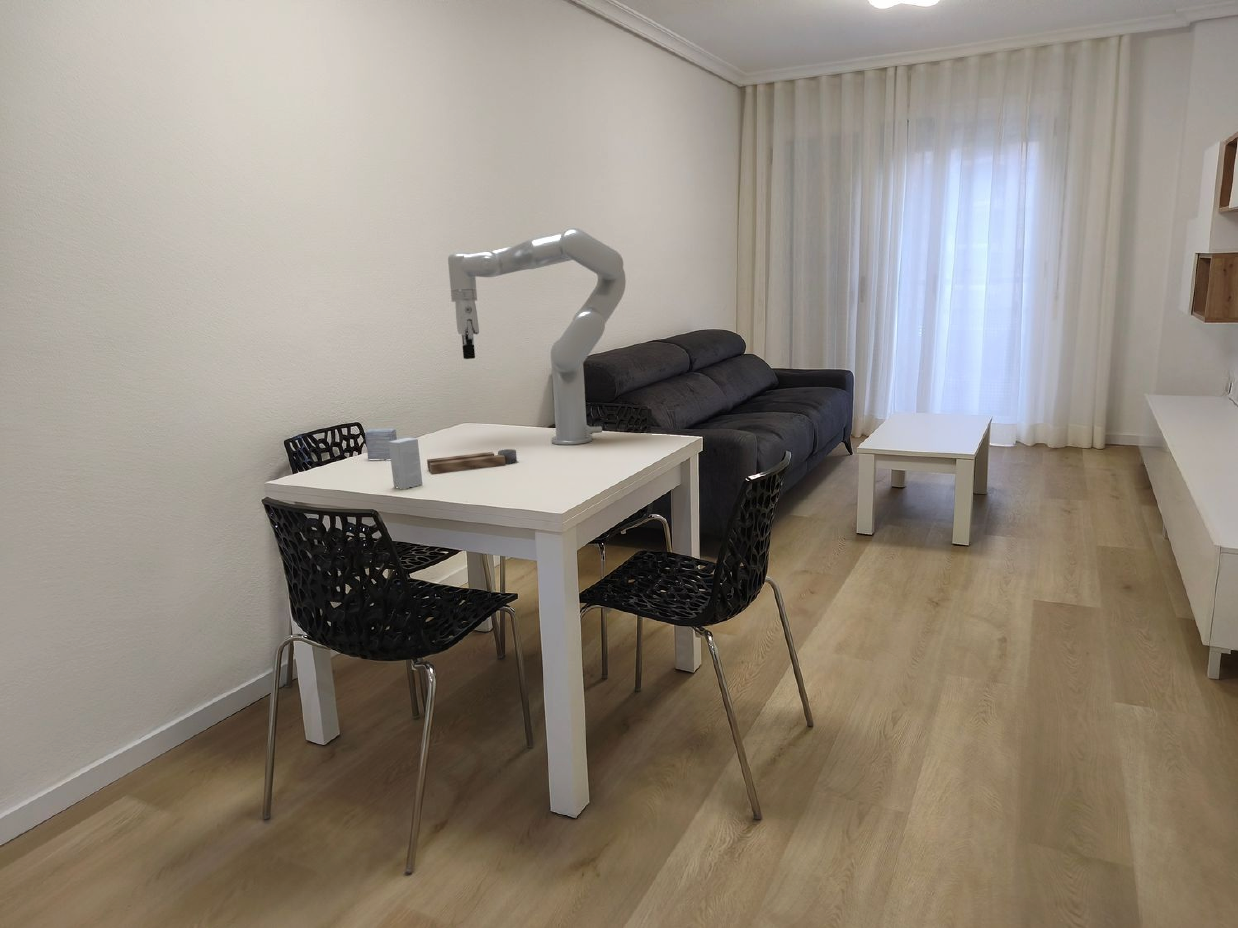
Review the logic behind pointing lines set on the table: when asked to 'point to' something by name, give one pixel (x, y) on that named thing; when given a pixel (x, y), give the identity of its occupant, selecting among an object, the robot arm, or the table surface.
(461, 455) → the bar
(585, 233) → the robot arm
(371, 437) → the medicine box
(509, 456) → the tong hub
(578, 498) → the table surface
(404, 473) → the skincare box
